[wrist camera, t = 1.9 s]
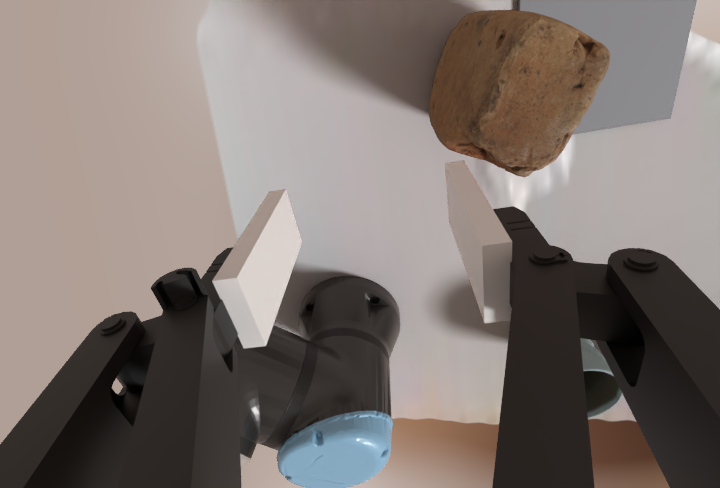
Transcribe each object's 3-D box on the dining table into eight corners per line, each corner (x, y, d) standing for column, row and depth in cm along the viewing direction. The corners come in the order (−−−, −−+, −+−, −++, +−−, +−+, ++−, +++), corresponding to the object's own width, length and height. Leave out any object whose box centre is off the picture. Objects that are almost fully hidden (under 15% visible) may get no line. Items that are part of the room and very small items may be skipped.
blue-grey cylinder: (583, 299, 54) (631, 365, 44) (577, 349, 59) (618, 418, 49) (510, 308, 56) (540, 373, 46) (510, 356, 61) (537, 425, 50)
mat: (515, 142, 43) (516, 143, 43) (518, -26, 35) (520, -27, 35) (666, 117, 41) (670, 118, 41) (706, -67, 33) (711, -69, 33)
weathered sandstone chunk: (458, 5, 37) (527, -7, 20) (526, 33, 38) (649, 44, 21) (415, 114, 42) (440, 178, 25) (476, 136, 43) (539, 212, 26)
